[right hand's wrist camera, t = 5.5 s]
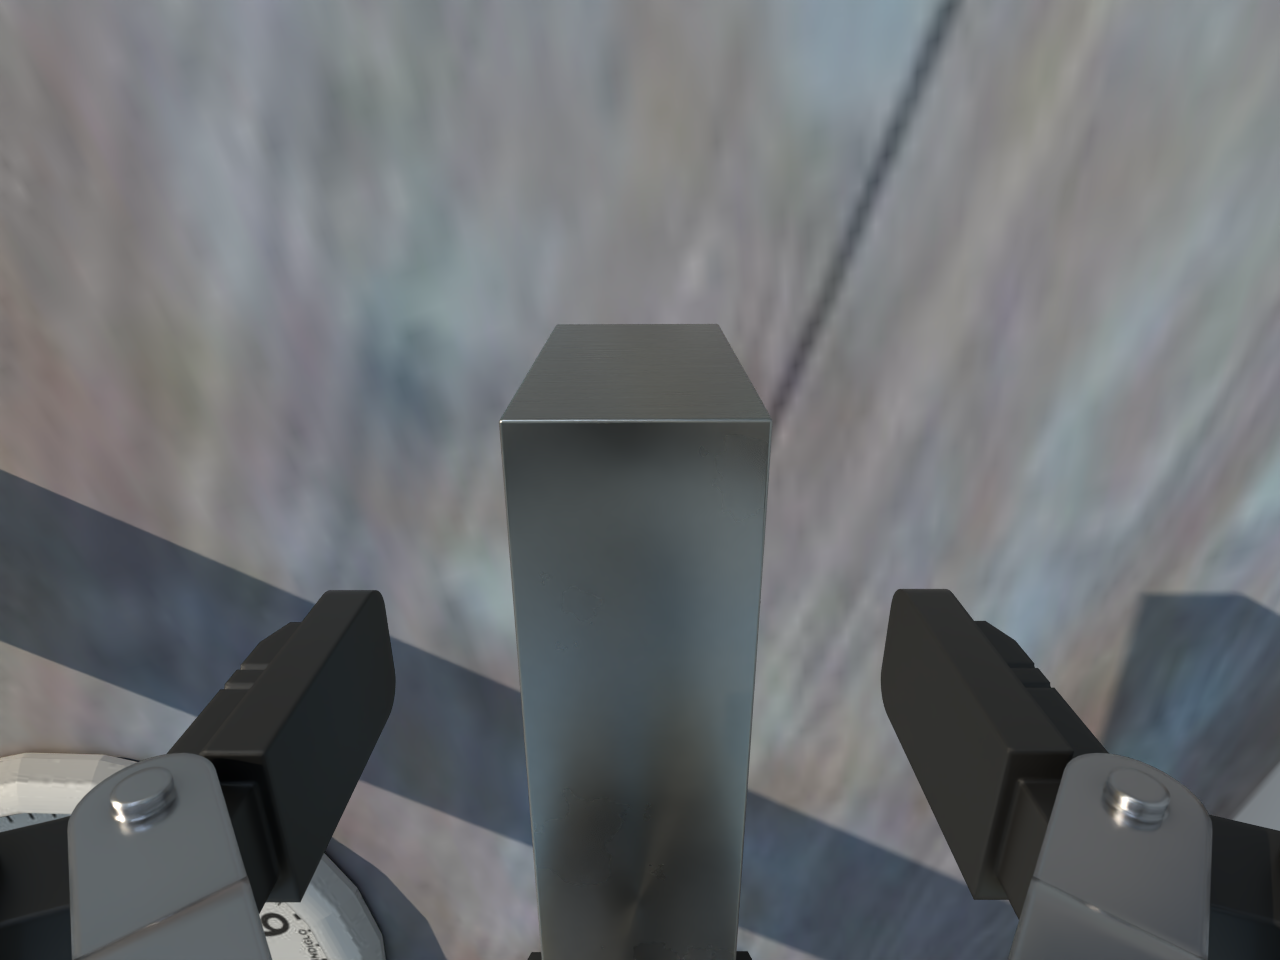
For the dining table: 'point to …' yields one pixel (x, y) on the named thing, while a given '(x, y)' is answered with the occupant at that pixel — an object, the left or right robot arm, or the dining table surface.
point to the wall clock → (295, 931)
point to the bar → (637, 632)
